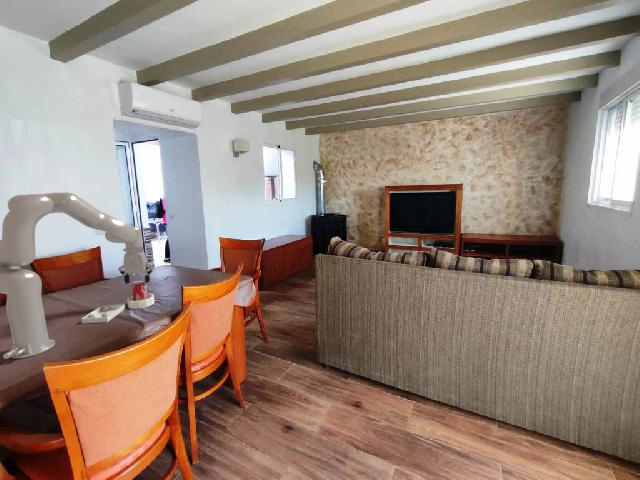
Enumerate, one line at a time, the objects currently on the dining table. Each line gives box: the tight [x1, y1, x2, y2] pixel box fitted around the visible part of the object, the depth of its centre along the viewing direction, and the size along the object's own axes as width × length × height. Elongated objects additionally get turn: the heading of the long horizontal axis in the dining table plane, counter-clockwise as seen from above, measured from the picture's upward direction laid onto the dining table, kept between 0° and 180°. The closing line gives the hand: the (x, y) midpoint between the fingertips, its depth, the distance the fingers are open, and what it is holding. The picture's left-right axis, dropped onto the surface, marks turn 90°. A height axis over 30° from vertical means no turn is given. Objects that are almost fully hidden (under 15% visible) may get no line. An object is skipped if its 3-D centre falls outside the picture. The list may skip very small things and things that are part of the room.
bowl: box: [126, 292, 155, 310], centre depth 158 cm, size 12×12×4 cm
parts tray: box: [80, 303, 126, 325], centre depth 144 cm, size 16×11×2 cm
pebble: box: [102, 304, 110, 311], centre depth 149 cm, size 3×3×3 cm
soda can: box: [130, 279, 149, 301], centre depth 157 cm, size 7×7×12 cm
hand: (137, 282), depth 155 cm, fingers open, 9 cm apart
